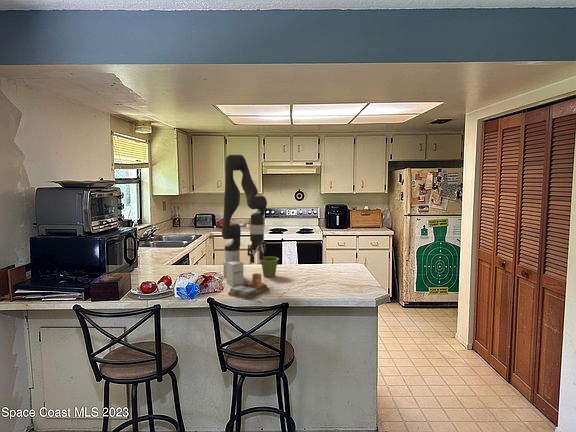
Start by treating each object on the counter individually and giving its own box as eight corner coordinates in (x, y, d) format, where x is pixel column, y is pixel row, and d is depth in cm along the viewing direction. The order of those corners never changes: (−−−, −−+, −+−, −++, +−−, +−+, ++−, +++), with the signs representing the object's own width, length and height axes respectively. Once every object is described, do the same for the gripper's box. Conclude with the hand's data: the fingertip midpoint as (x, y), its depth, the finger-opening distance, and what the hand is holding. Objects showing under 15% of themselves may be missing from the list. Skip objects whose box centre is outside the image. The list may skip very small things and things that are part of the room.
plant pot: (256, 277, 247) (256, 259, 245) (266, 273, 257) (266, 255, 256) (272, 279, 241) (272, 261, 240) (282, 275, 252) (282, 257, 250)
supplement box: (232, 286, 228) (232, 264, 226) (226, 283, 234) (226, 262, 232) (243, 284, 232) (243, 262, 231) (237, 281, 238) (237, 260, 236)
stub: (247, 286, 222) (247, 274, 221) (251, 284, 226) (251, 272, 225) (261, 288, 218) (260, 276, 217) (265, 286, 221) (265, 274, 220)
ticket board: (228, 294, 212) (228, 288, 211) (248, 286, 227) (248, 280, 227) (249, 299, 205) (249, 292, 204) (269, 290, 220) (269, 283, 220)
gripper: (258, 229, 226) (258, 257, 229) (243, 233, 214) (243, 263, 216) (269, 231, 223) (269, 259, 225) (255, 235, 210) (254, 265, 213)
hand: (256, 261), depth 221 cm, fingers open, 8 cm apart
